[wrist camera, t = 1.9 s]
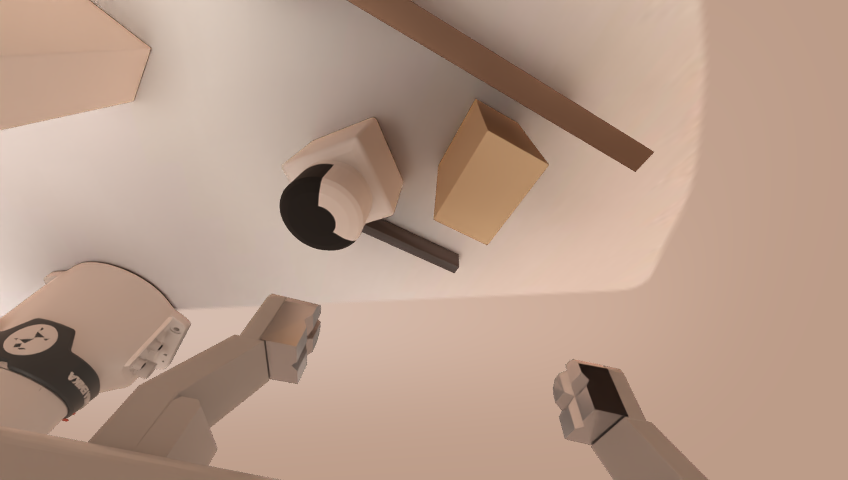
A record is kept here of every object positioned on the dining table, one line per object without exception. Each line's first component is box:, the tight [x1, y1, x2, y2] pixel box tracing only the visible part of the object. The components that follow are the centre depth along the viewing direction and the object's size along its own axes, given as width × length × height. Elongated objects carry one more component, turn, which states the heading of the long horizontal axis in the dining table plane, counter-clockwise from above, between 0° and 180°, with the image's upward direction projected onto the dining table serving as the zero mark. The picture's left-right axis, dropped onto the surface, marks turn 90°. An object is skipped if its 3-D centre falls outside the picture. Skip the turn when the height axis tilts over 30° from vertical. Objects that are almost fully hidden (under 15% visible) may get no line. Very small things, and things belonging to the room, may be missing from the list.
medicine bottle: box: [280, 117, 403, 250], centre depth 27 cm, size 7×7×12 cm
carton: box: [434, 99, 549, 245], centre depth 26 cm, size 5×7×11 cm
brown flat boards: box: [347, 0, 654, 273], centre depth 25 cm, size 20×19×14 cm
